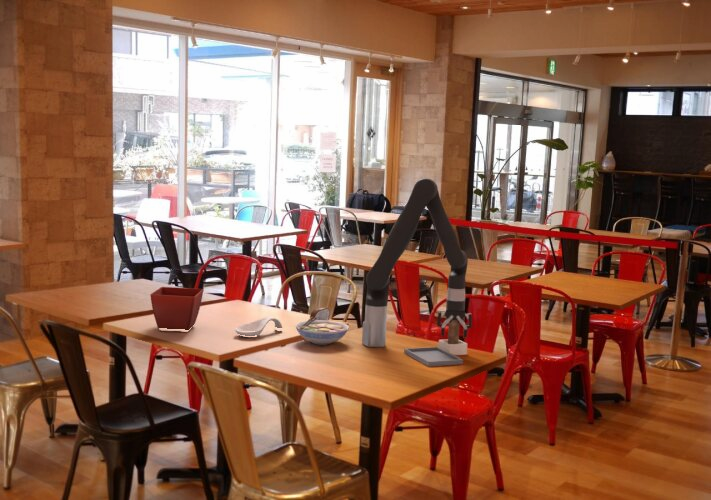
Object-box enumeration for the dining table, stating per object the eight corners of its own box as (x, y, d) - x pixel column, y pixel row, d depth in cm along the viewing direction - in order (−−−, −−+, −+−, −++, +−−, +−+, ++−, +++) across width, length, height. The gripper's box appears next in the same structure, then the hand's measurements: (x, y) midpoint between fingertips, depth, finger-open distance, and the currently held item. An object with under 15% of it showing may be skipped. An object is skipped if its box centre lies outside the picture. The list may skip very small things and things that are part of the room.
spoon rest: (247, 341, 337) (248, 324, 336) (229, 336, 344) (229, 320, 344) (288, 333, 355) (288, 317, 354) (270, 329, 362) (270, 313, 361)
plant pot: (193, 335, 343) (194, 296, 341) (149, 333, 343) (149, 294, 341) (203, 325, 362) (203, 288, 360) (160, 323, 362) (161, 286, 360)
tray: (428, 366, 309) (428, 361, 309) (404, 352, 329) (404, 348, 328) (462, 364, 315) (462, 359, 315) (436, 350, 335) (437, 346, 334)
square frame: (448, 355, 328) (449, 344, 327) (438, 350, 336) (438, 339, 335) (466, 354, 331) (467, 343, 331) (456, 349, 339) (456, 338, 338)
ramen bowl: (341, 352, 325) (342, 332, 324) (287, 347, 329) (287, 327, 328) (353, 338, 349) (354, 320, 348) (303, 334, 354) (303, 316, 353)
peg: (450, 353, 331) (452, 320, 330) (447, 351, 334) (449, 318, 333) (457, 353, 333) (459, 320, 331) (453, 351, 335) (455, 318, 334)
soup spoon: (324, 322, 380) (325, 305, 379) (330, 323, 379) (331, 305, 378) (308, 328, 367) (309, 309, 366) (314, 329, 366) (315, 310, 365)
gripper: (473, 298, 334) (470, 336, 336) (438, 296, 335) (436, 334, 337) (473, 301, 326) (471, 340, 328) (438, 299, 328) (436, 338, 330)
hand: (453, 337), depth 333 cm, fingers open, 8 cm apart
